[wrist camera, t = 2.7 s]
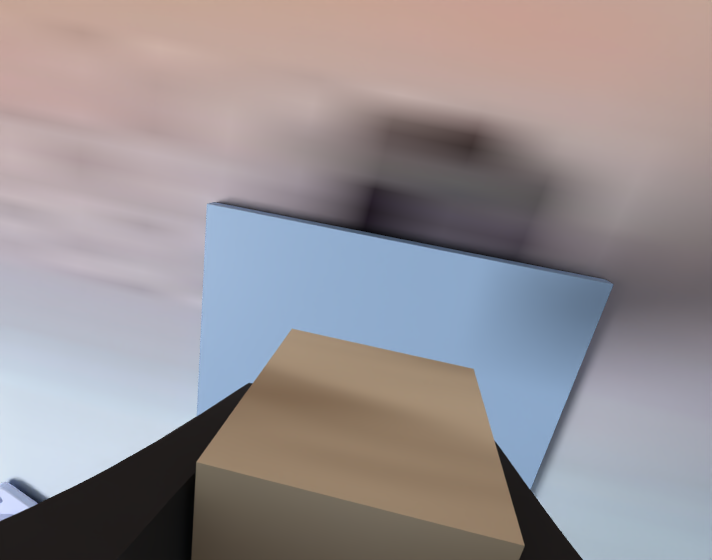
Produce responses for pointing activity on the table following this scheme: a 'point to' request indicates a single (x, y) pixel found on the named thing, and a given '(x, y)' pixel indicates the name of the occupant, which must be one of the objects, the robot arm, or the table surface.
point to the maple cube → (354, 463)
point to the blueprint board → (397, 314)
